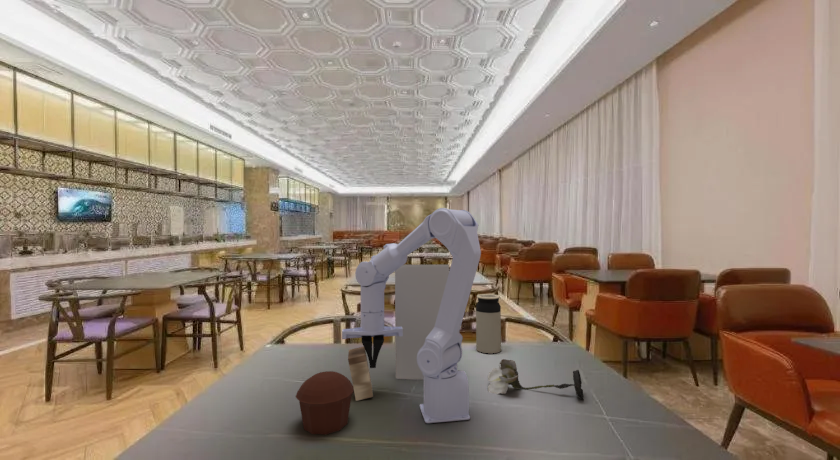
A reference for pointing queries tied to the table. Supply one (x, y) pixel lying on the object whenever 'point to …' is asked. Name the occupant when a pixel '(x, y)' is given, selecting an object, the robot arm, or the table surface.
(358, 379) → the maple block
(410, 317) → the tall grey block
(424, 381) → the robot arm
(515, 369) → the artificial flower
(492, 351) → the travel mug
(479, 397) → the table surface
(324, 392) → the muffin
